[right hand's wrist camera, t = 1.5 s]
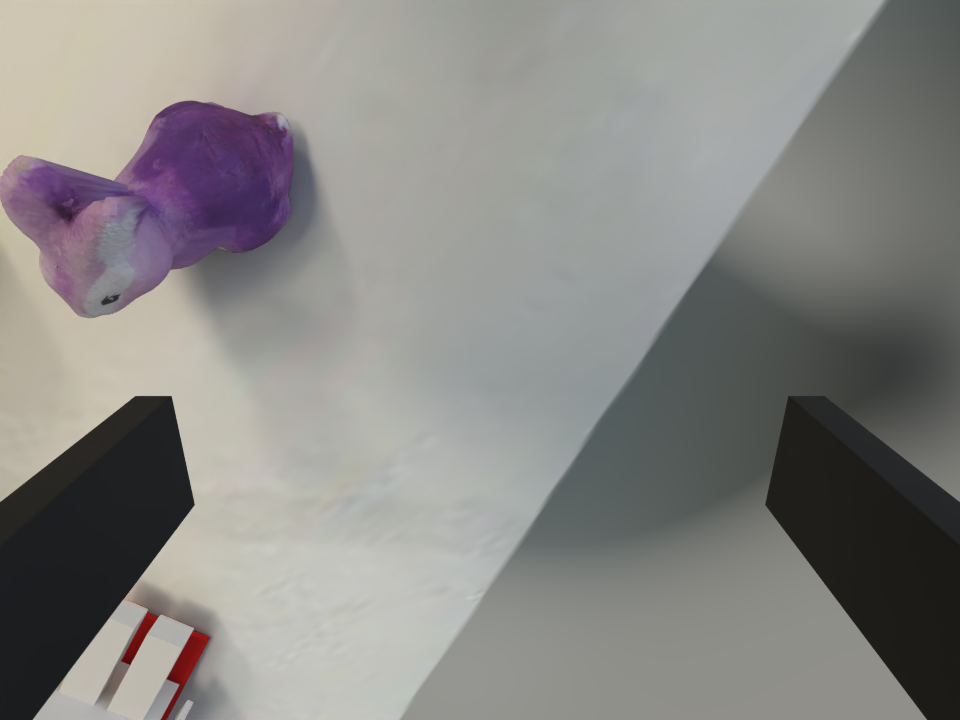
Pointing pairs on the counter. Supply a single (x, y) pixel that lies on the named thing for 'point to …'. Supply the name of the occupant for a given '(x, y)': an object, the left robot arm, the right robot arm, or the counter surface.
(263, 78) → the counter surface
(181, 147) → the figurine
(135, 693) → the toy
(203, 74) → the counter surface
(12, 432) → the counter surface
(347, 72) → the counter surface
